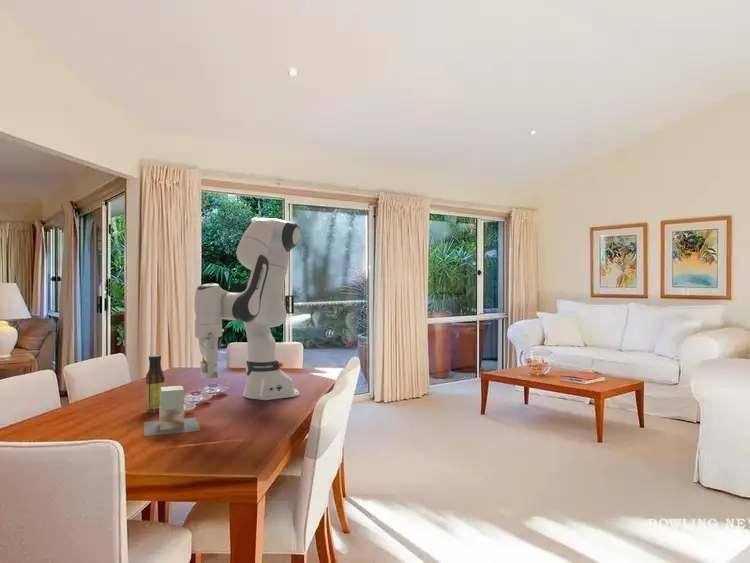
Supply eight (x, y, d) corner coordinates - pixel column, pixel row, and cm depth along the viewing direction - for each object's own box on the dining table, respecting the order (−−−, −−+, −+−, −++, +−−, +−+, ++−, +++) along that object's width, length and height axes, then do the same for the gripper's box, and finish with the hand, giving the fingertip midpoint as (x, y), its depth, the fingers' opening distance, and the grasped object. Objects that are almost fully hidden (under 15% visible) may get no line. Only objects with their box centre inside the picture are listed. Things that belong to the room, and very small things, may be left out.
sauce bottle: (169, 410, 192) (169, 355, 192) (156, 414, 186) (157, 357, 186) (154, 408, 194) (154, 353, 194) (141, 413, 188) (142, 356, 188)
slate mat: (195, 419, 181) (195, 417, 181) (200, 432, 167) (200, 430, 167) (143, 423, 175) (143, 422, 175) (144, 437, 160) (144, 435, 160)
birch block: (182, 422, 175) (182, 403, 175) (184, 428, 169) (184, 408, 169) (159, 424, 172) (159, 405, 172) (160, 430, 166) (160, 410, 166)
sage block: (181, 404, 175) (182, 385, 175) (183, 408, 169) (183, 389, 169) (160, 405, 172) (160, 387, 172) (161, 410, 166) (161, 391, 166)
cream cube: (215, 374, 186) (215, 360, 186) (217, 377, 182) (217, 362, 182) (200, 376, 184) (200, 361, 184) (202, 378, 180) (201, 364, 180)
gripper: (222, 334, 174) (223, 377, 175) (214, 327, 193) (215, 366, 194) (202, 335, 172) (202, 378, 172) (195, 328, 191) (196, 367, 191)
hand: (209, 372), depth 183 cm, fingers closed on cream cube, 5 cm apart
